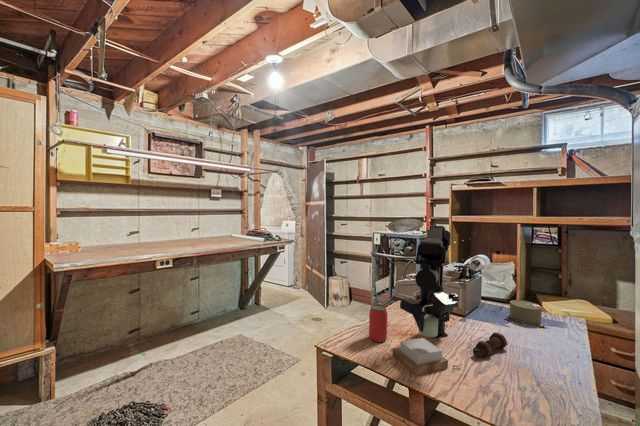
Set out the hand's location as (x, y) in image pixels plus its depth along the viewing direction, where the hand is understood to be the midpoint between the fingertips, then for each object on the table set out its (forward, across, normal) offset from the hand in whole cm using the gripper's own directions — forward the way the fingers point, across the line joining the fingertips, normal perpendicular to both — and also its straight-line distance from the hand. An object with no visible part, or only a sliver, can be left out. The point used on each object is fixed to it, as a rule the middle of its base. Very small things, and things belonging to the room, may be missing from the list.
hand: (428, 329), depth 93 cm
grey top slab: (+9, -1, +2) cm, 9 cm away
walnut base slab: (+12, -1, +2) cm, 12 cm away
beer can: (+11, -5, +20) cm, 23 cm away
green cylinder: (+1, 0, 0) cm, 1 cm away
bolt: (+12, +26, -2) cm, 28 cm away
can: (+11, +69, +12) cm, 71 cm away
